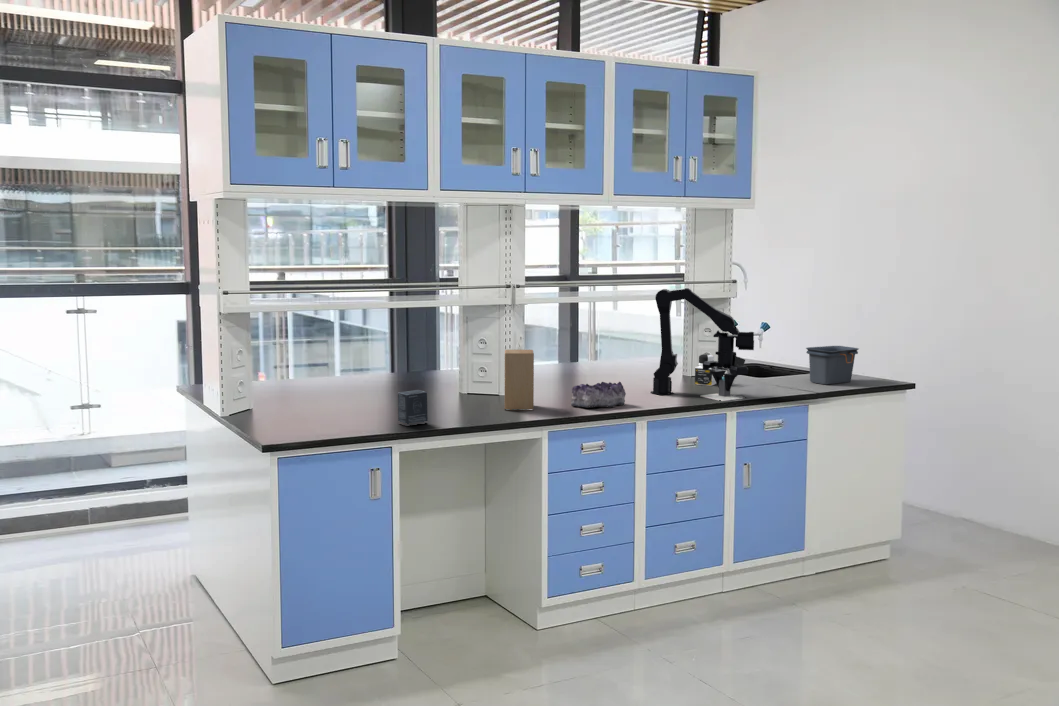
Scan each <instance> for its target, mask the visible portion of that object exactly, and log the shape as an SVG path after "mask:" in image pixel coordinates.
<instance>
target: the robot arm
mask: <svg viewBox="0 0 1059 706" xmlns="http://www.w3.org/2000/svg"><path fill="white" fill-rule="evenodd" d="M654 298H655V303H656V306H657V310H658V313H659V325H660V341H661V342H660V343H661V345H660V346H661V354H660V359H659V367H658V368H656V370H655V371H654V373H653V378H652V379H653V380H652V384H653V385H652V390H651V391H650V394H654V395H659V396H665V395H673V394H674V392H673V391H672V389H673V388H672V386H673V385H672V384H673V383H672V377H671V376H670V375H671V374H673V373H674V372H675V370H676V368H677V366H678V365H679V363H678V359H677V358H678V354H677V353H675V354H674V351H673V341H672V339H673V338H672V324H671V322H672V321H671V309H672V304H673V302H675V301H676V302H677V301H681V300H686V301H687V302H688V303H689V304H691V306H693V307H695V308H696V309H697V310H699V311H700V312H702V313H703V314H704V315H706V316H707V317H708V318H709V319H710V320H711V321H712V322H713V323H714V324H715V325H716V326H717V327H718V329H720V330H717V331H716V332H715V333H714V334H713V335H712V337H713V338H717V339H718V341H717V344H718V345H717V351H715V355H717V360H714V361H705V362H704V363H703V369H707V370H709V368H711V371H710V372H711V373H712V375H713V377H714V379H715V381H716V385H717V388H718V389H719V380H721V379H722V376H724V378H725V385H726V390H727V391H730V392H731V388H732V385H733V384H734V381H735V379H736V378H737V377H738V376H741V375H743V376H744V375H748V374H749V368H748V367H747V365H746V366H745V364H746V359H745V358H742V357H740V356H737V352H736V351H734V348H738V351H755V339H754V338H755V337H754V336H755V335H754V334H755V332H754V331H740V330H739V328H737V326H736V323H735V319H734V317H733V316H731V315H729V314H727V313H726V312H723V311H721V310H720V309H716V308H715V307H714V306H713V305H711V304H710V303H708V302H707V301H706V300H705V299H703V298H702V297H700V296H699V295H697V294H696V293H695V292H693V291H692V289H691V288H688V287H686V288H682V289H674V290H673V289H672V290H669V289H668V288H663V289H661V290H659V291H657V292H656V294H655V297H654ZM721 331H722V332H721ZM734 345H735V346H734ZM726 372H727V373H726Z"/></svg>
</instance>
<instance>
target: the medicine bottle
mask: <svg viewBox="0 0 1059 706" xmlns="http://www.w3.org/2000/svg"><path fill="white" fill-rule="evenodd" d="M705 361H715V356H714V355H712V354H700V355H699V356H698V365H697V366H695V367H694V385H696V386H708V387H712V386H714V385H717V383H716V381H715V379H714V377H713V375H712V373H711V372H710V371H711V368H709V370H707V369H703V363H704V362H705Z"/></svg>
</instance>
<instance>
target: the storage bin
mask: <svg viewBox="0 0 1059 706" xmlns="http://www.w3.org/2000/svg"><path fill="white" fill-rule="evenodd" d="M805 349H806V354H807V355H809V357H808V358H809V359H808V360H809V362H808V363H809V381H810V382H811V383H814V384H819V385H834V384H844V383H849V382H850V383H851V381H852V375H853V371H854V363H855V357H856V355H858V354H859V351H858V350H859V349H860V348H858V347H854V346H853V347H851V346H844V345H826V346H825V345H824V346H811V347H805Z"/></svg>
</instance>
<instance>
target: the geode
mask: <svg viewBox="0 0 1059 706" xmlns="http://www.w3.org/2000/svg"><path fill="white" fill-rule="evenodd" d="M571 394H572V395H571V396H572V397H571V399H570V400H571V401H570V402H571V404H570V405H571V406H572V407H580V408H587V409H588V408H599V407H600V408H613V407H615V406H618V405H619V406H623V405H624V404H625V403H626V400H625V399H626V394H627V393H626V390H625V387H624V385H623V384H622V382H621V381H618V382H613V383H612V382H610V381H609V382H604V381H601V382H597V383H596V384H592V385H590V384H588V383H586V384H584V383H581V384H579V385H574V386H573V387H572V388H571ZM625 405H626V404H625ZM625 405H624V406H625Z"/></svg>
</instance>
